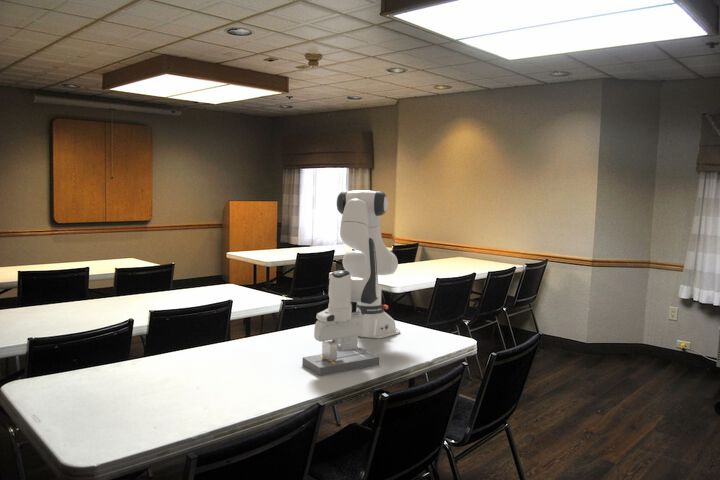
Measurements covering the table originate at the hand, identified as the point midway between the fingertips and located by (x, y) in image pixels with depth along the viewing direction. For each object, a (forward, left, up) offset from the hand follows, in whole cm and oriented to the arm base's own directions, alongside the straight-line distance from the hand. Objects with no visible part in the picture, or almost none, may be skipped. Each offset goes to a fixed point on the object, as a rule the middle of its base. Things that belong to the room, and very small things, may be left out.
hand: (339, 349), depth 206 cm
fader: (+4, 0, -3) cm, 5 cm away
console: (-1, 0, -6) cm, 6 cm away
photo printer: (-12, -15, -6) cm, 20 cm away
